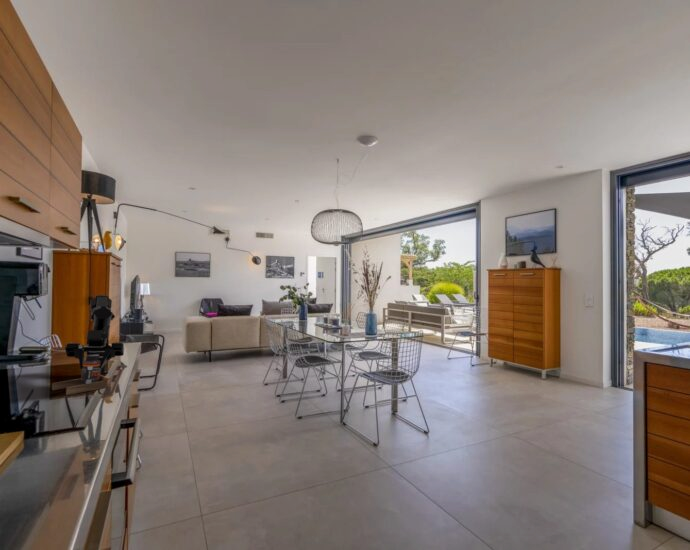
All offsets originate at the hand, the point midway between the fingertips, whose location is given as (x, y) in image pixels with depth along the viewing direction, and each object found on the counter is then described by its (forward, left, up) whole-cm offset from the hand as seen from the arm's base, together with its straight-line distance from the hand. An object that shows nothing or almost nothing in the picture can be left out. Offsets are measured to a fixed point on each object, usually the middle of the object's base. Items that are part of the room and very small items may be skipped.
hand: (90, 368), depth 137 cm
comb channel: (-1, -3, -7) cm, 8 cm away
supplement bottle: (-1, +1, -7) cm, 7 cm away
